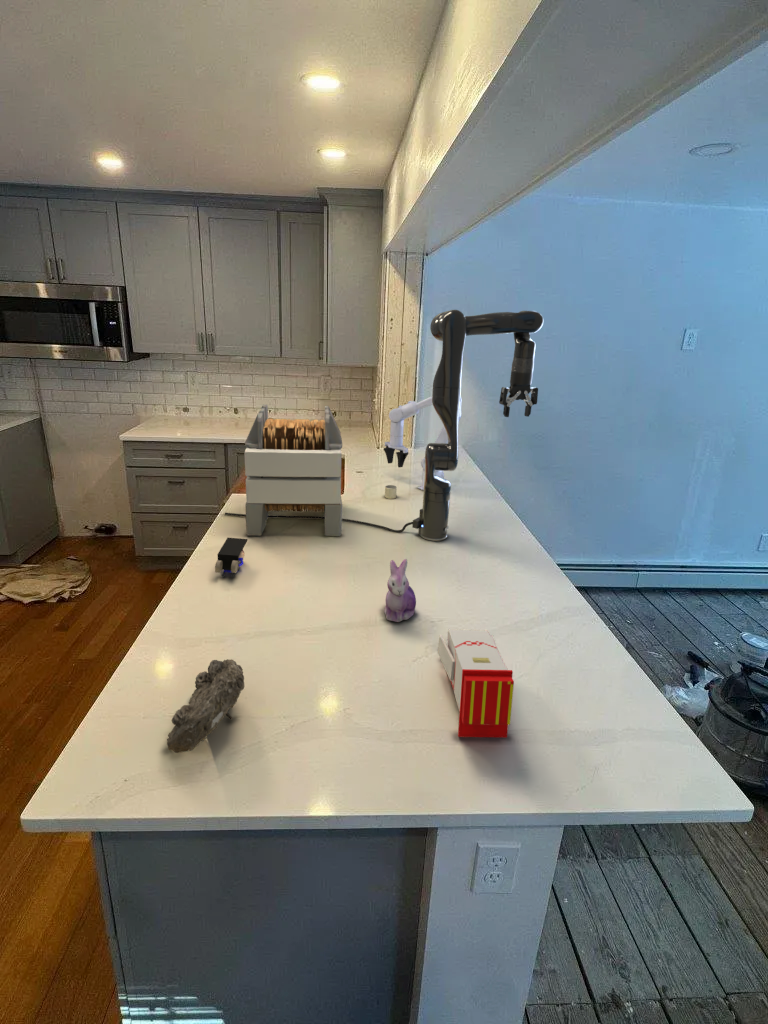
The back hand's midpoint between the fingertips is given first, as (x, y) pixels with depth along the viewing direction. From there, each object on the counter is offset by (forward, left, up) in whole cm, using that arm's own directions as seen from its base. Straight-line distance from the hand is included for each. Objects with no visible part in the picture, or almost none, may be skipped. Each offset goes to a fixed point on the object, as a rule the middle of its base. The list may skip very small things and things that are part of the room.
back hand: (395, 465), depth 255 cm
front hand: (-7, +59, +32) cm, 67 cm away
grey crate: (+61, +19, -8) cm, 64 cm away
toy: (+80, +126, -8) cm, 150 cm away
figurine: (+72, +93, -8) cm, 118 cm away
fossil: (+126, +104, -8) cm, 164 cm away
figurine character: (+97, +46, -8) cm, 108 cm away
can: (+14, +15, -8) cm, 23 cm away
